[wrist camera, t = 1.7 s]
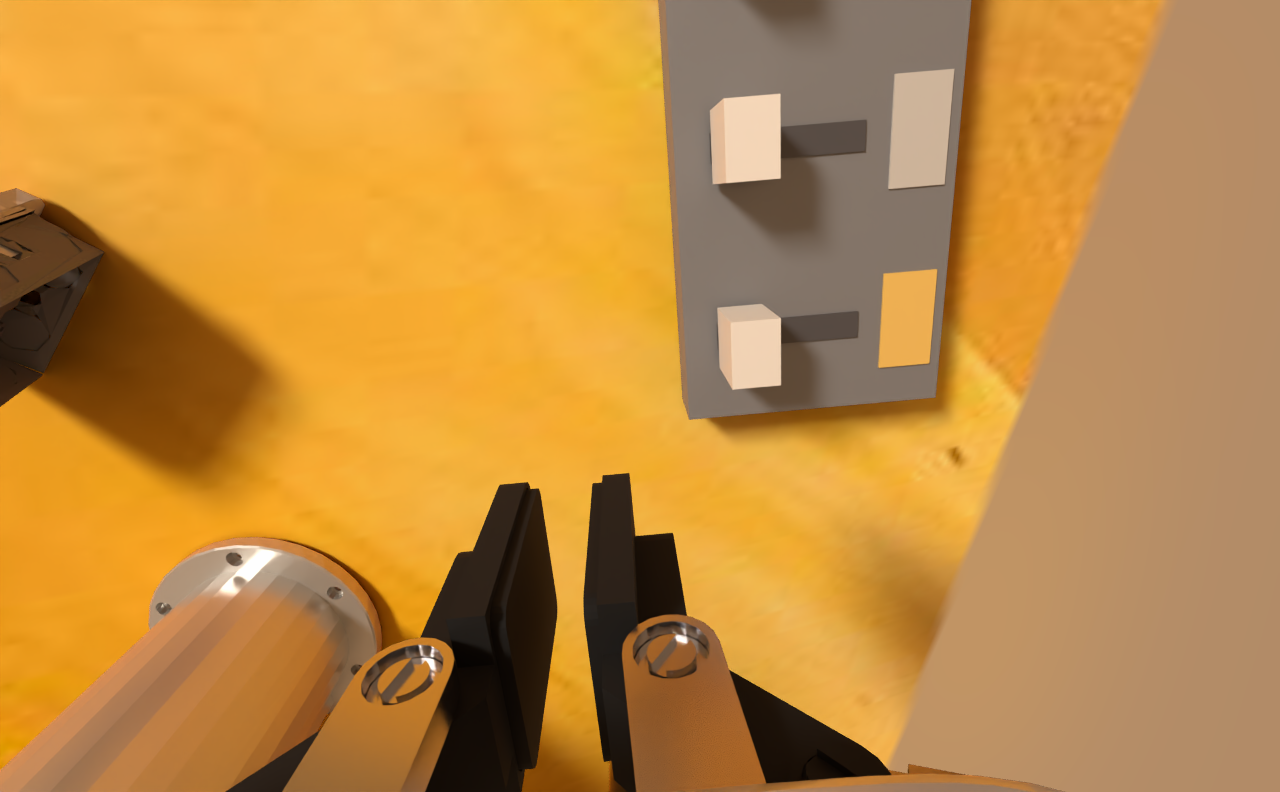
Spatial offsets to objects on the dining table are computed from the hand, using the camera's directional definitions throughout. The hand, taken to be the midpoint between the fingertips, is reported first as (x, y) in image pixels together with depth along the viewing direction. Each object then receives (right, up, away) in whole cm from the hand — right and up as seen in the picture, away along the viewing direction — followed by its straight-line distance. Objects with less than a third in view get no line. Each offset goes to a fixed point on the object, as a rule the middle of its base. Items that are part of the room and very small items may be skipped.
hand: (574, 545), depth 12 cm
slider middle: (+5, +13, +12) cm, 19 cm away
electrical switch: (-27, +8, +17) cm, 33 cm away
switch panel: (+9, +15, +15) cm, 23 cm away
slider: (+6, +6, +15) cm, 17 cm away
